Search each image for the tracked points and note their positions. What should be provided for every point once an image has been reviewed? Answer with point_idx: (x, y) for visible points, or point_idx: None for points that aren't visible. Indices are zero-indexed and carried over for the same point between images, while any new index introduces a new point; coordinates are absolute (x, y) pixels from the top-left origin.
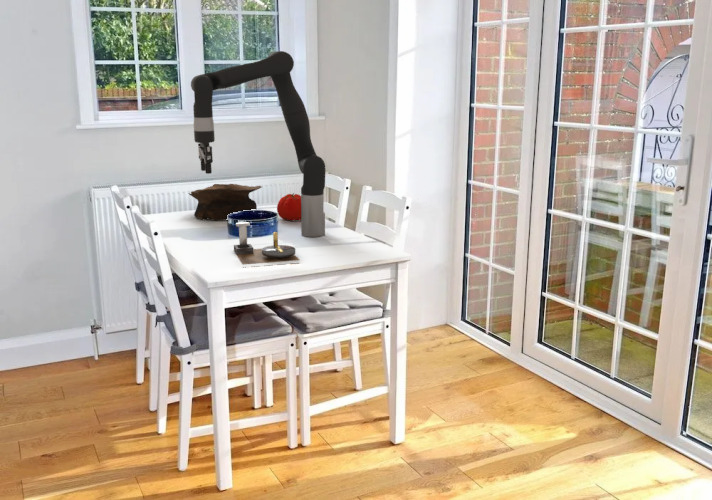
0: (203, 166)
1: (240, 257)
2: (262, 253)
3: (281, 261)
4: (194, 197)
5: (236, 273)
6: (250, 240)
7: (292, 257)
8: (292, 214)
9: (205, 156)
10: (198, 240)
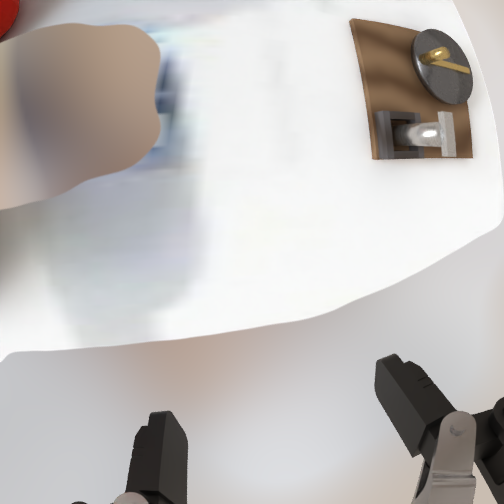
0: (177, 458)
1: (435, 152)
2: (451, 104)
3: None
4: None
5: (488, 175)
6: (218, 96)
7: None
8: (15, 7)
9: (498, 482)
10: (197, 261)
